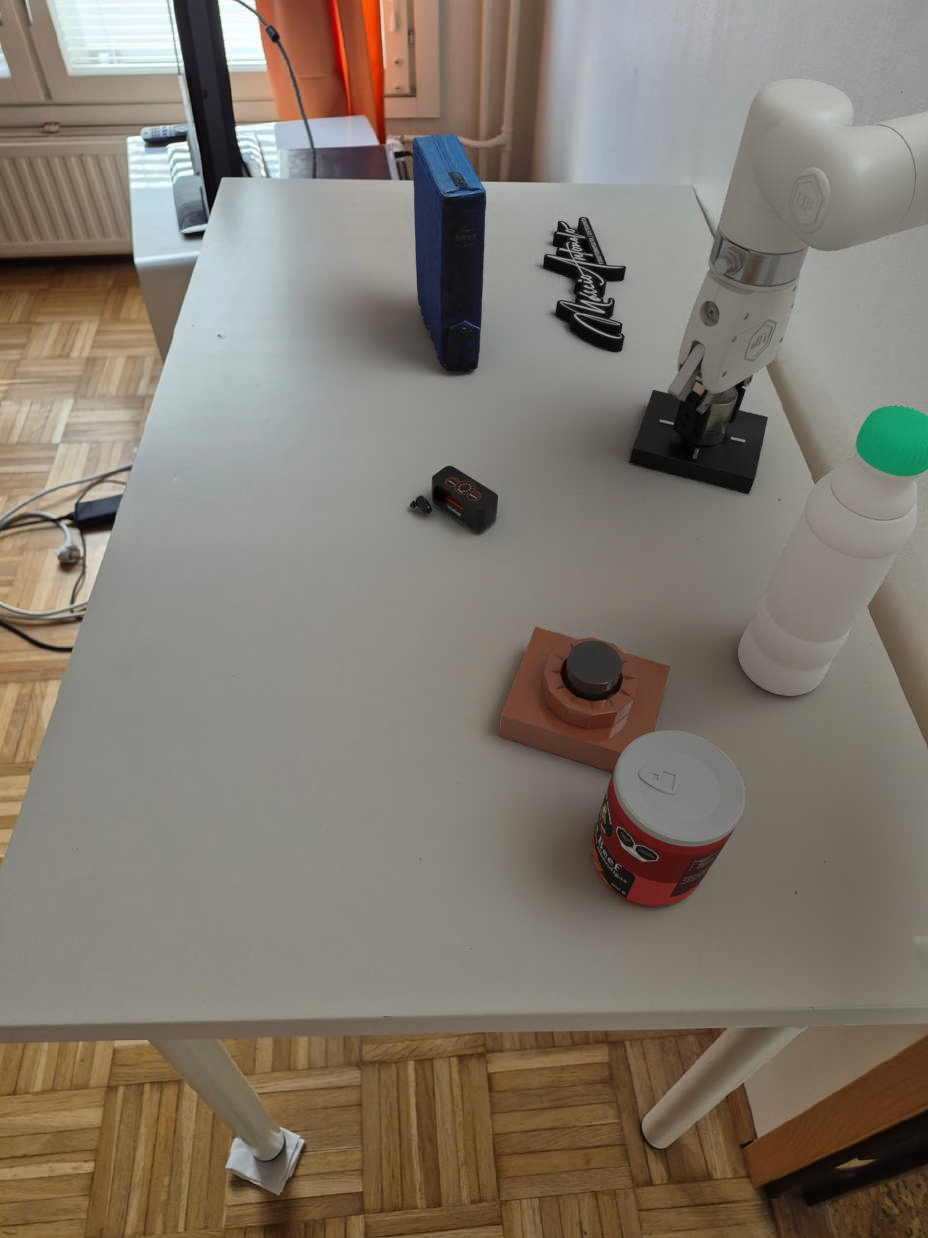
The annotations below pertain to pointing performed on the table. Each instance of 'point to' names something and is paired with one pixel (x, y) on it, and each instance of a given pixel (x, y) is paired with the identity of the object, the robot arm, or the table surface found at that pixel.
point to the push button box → (580, 704)
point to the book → (449, 248)
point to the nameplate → (586, 285)
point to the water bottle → (838, 554)
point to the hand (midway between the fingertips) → (704, 424)
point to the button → (593, 670)
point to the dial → (717, 414)
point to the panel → (699, 447)
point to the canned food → (665, 817)
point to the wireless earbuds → (461, 499)
